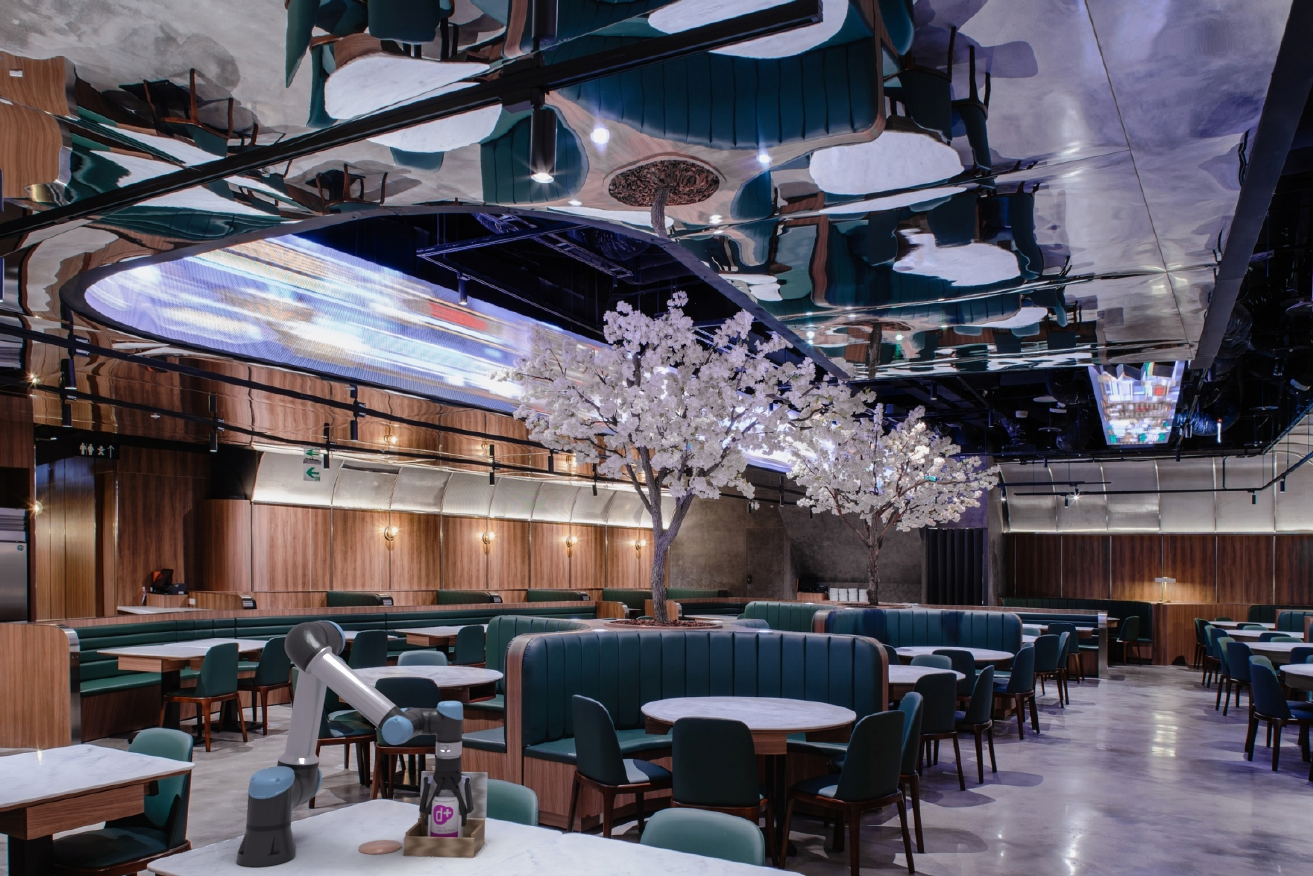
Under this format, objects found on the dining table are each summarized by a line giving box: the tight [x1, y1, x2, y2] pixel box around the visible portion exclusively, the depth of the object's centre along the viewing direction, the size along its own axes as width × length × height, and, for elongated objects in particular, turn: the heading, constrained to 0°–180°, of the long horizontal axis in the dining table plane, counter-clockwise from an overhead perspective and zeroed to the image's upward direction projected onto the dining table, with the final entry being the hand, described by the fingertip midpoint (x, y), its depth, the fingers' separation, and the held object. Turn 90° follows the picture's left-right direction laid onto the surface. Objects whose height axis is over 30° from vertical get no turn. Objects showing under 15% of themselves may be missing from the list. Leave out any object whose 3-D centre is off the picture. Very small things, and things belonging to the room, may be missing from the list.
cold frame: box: [402, 770, 488, 859], centre depth 260 cm, size 20×14×20 cm
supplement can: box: [431, 793, 461, 838], centre depth 259 cm, size 8×8×15 cm
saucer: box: [358, 839, 403, 856], centre depth 259 cm, size 12×12×1 cm
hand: (445, 837), depth 258 cm, fingers closed on supplement can, 8 cm apart
